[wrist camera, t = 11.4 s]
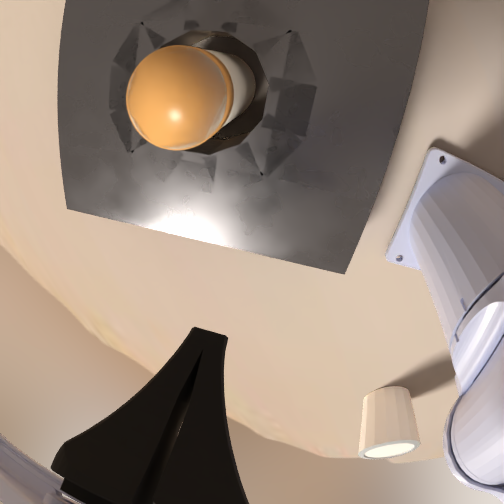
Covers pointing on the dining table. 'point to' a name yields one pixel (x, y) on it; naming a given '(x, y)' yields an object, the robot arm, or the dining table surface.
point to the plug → (187, 95)
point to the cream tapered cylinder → (388, 424)
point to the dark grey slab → (252, 143)
